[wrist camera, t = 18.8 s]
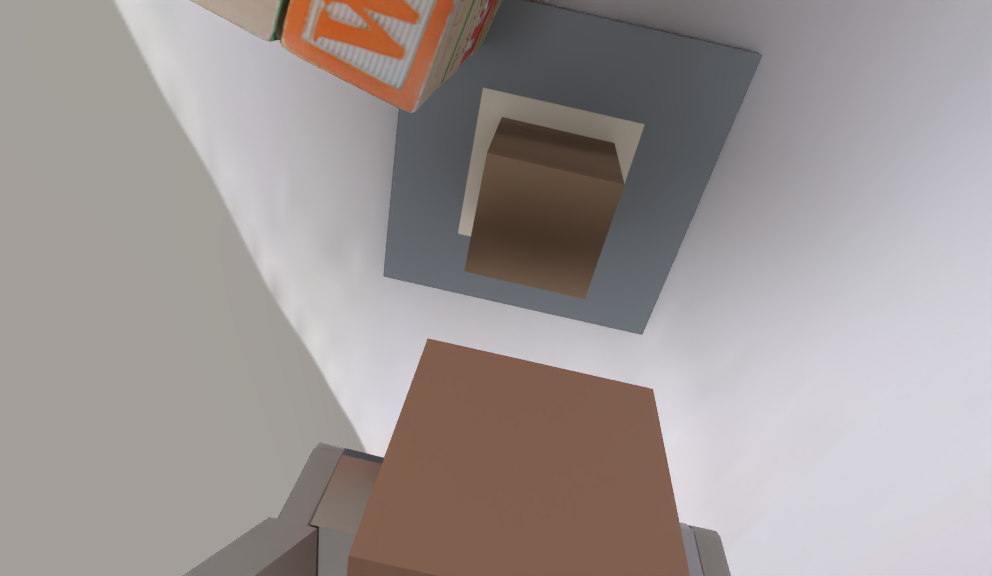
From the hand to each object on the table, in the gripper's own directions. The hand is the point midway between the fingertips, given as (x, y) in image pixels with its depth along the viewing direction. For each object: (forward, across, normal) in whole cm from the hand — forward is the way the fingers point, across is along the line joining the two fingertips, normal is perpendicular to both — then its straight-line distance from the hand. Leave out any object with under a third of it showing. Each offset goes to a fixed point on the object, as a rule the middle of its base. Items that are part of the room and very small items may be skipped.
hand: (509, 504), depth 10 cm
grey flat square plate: (+18, 0, 0) cm, 18 cm away
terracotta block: (+2, 0, 0) cm, 2 cm away
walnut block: (+17, 0, 0) cm, 17 cm away
